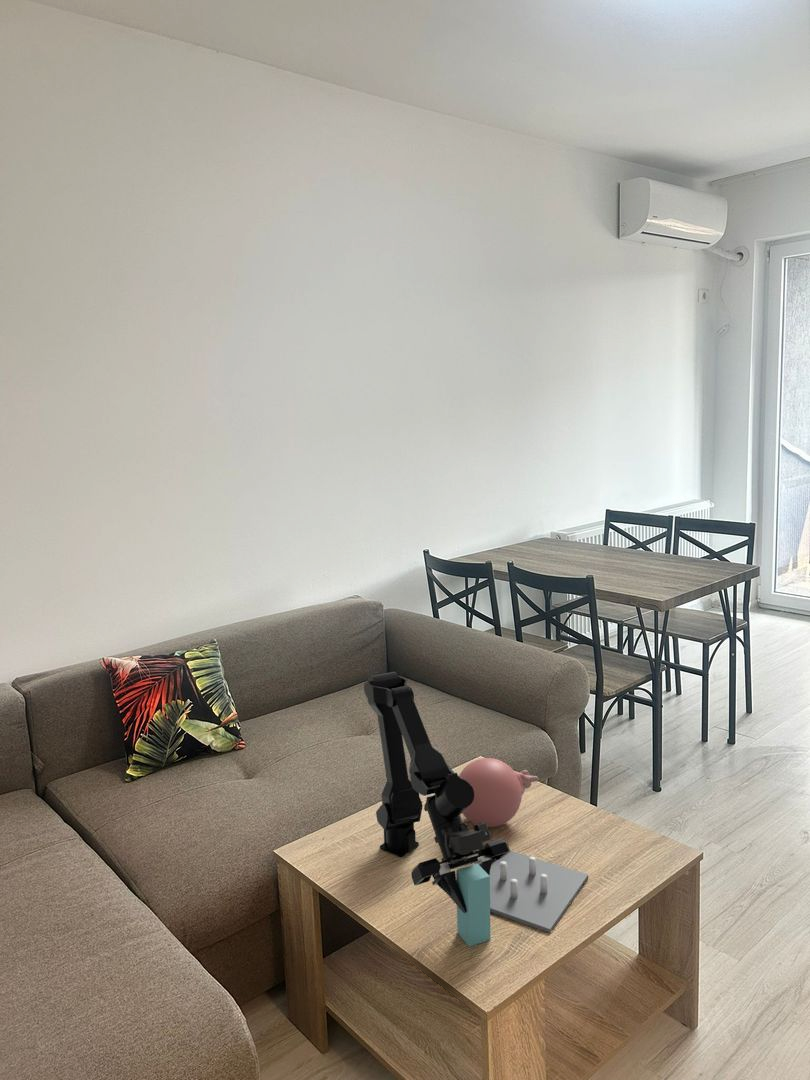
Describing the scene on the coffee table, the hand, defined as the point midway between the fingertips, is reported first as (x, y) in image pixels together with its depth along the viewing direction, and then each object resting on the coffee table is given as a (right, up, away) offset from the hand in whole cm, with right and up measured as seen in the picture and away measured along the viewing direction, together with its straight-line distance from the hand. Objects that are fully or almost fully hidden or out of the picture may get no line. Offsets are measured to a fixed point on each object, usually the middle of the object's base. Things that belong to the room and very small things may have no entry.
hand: (477, 908), depth 152 cm
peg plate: (+11, -3, +16) cm, 20 cm away
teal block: (0, -6, +2) cm, 7 cm away
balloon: (+9, +2, +42) cm, 43 cm away
